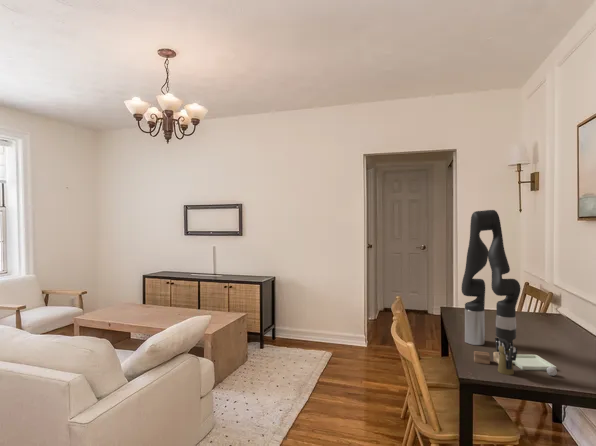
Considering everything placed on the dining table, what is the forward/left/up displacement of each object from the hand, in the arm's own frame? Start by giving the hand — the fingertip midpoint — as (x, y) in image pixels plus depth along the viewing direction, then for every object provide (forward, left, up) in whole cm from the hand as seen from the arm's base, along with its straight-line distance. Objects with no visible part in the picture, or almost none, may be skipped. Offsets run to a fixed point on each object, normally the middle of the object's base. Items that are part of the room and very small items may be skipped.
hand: (505, 366), depth 156 cm
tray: (-9, +15, -2) cm, 18 cm away
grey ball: (+3, +17, -1) cm, 17 cm away
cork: (0, 0, -3) cm, 3 cm away
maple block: (-11, +3, -2) cm, 12 cm away
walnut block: (-11, -5, -3) cm, 12 cm away
